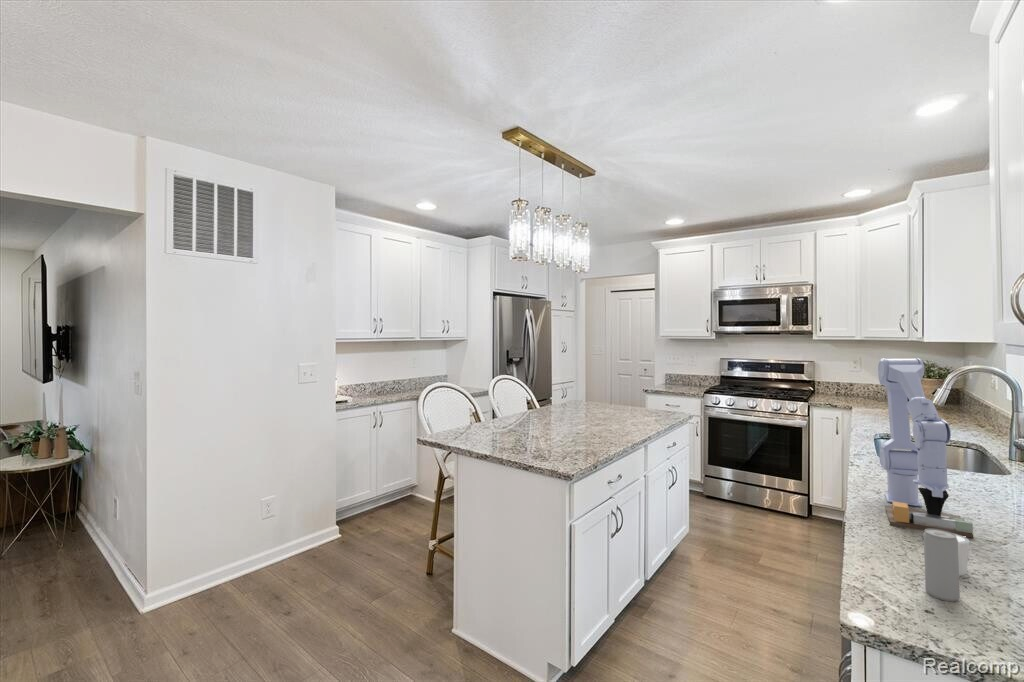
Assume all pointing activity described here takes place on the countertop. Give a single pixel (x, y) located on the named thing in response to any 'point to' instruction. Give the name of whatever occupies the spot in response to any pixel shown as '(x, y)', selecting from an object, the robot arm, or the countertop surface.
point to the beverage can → (941, 564)
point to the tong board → (932, 522)
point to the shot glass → (963, 554)
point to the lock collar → (900, 512)
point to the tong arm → (940, 516)
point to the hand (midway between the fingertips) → (933, 517)
